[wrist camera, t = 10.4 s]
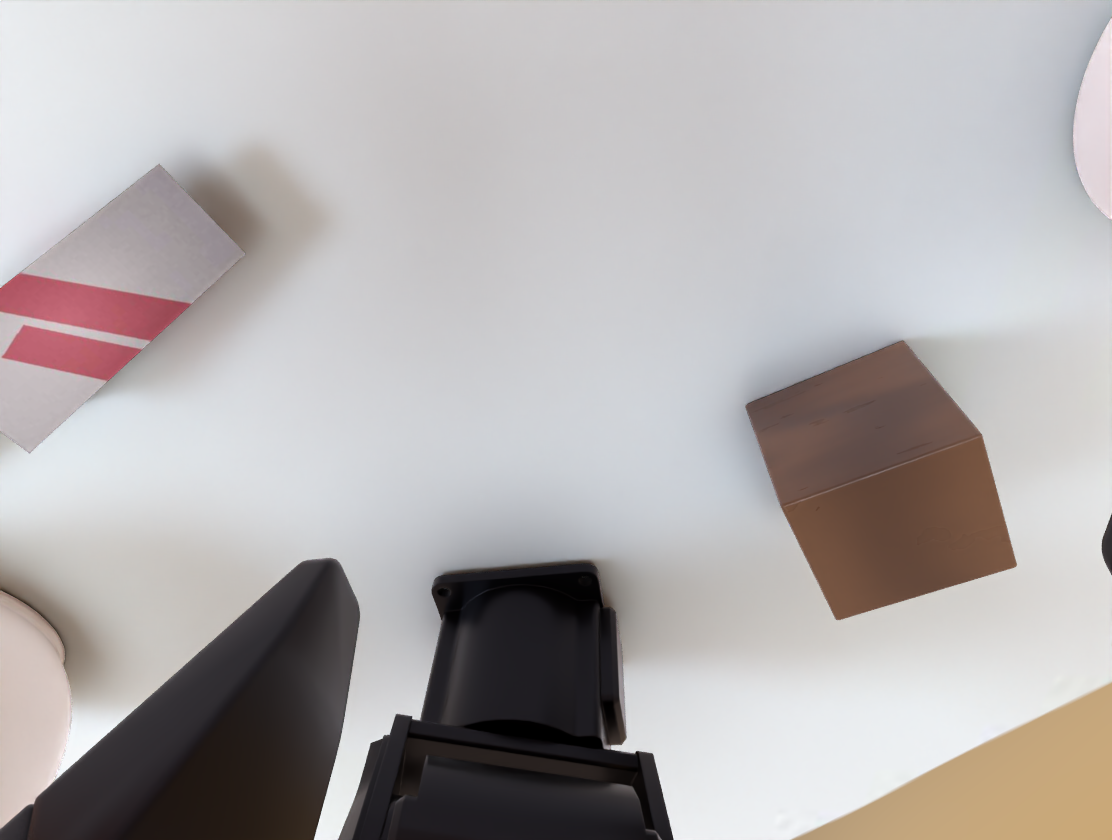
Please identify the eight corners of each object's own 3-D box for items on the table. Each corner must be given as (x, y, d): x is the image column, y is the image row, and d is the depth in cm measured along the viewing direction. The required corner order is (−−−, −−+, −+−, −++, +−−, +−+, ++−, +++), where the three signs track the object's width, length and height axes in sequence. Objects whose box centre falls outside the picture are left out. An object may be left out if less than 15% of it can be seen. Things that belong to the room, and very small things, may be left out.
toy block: (794, 509, 25) (836, 622, 20) (744, 404, 22) (780, 506, 18) (940, 458, 23) (1018, 567, 19) (903, 339, 21) (983, 434, 17)
